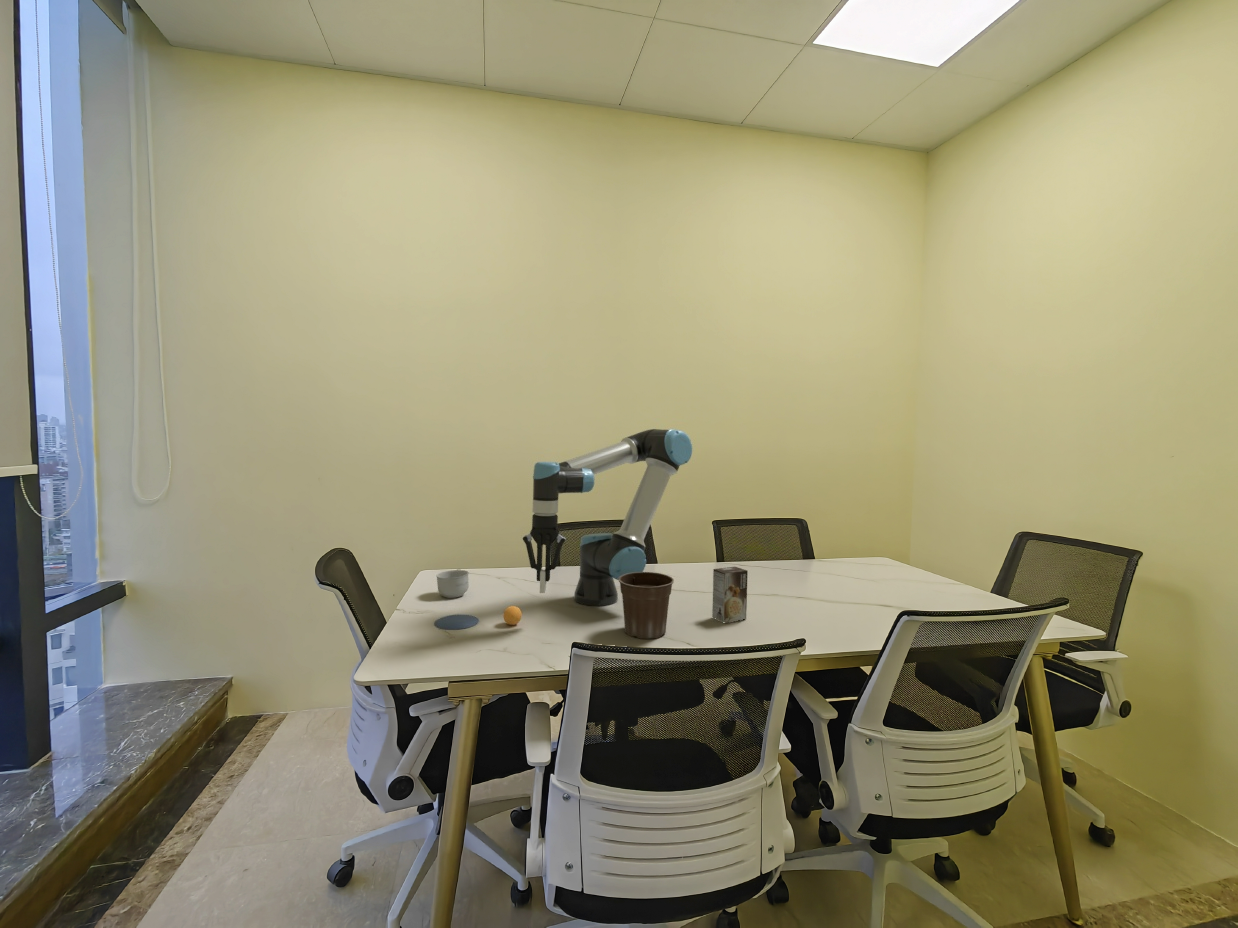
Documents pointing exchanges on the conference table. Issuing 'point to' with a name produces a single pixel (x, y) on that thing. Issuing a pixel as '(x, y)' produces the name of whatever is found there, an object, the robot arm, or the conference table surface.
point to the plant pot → (645, 603)
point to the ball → (512, 615)
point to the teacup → (453, 583)
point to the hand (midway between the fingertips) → (542, 591)
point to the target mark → (456, 622)
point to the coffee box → (729, 594)
